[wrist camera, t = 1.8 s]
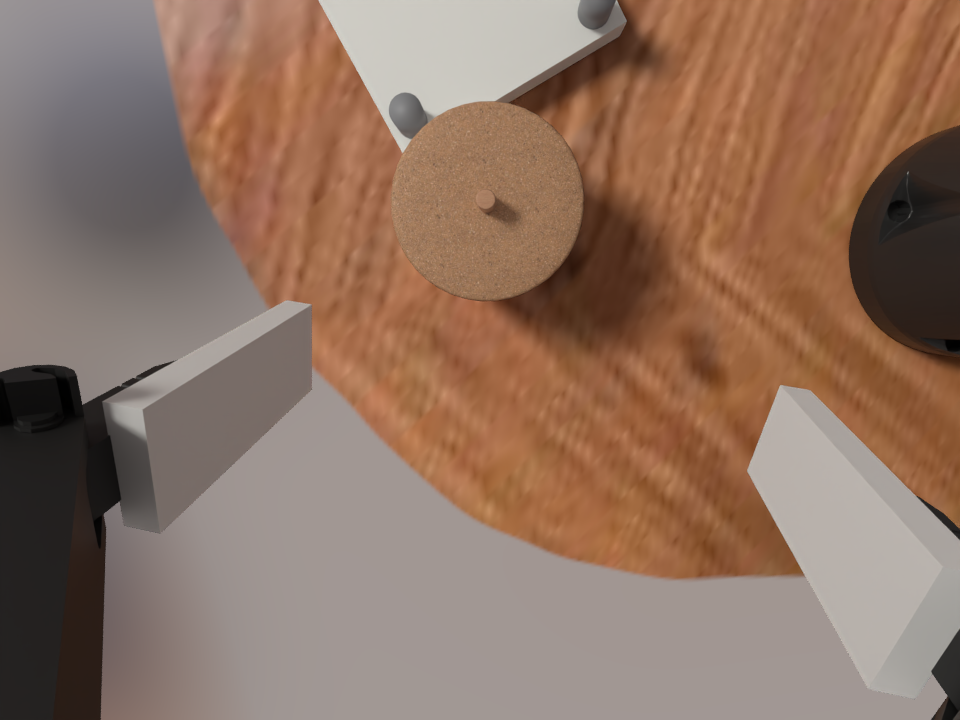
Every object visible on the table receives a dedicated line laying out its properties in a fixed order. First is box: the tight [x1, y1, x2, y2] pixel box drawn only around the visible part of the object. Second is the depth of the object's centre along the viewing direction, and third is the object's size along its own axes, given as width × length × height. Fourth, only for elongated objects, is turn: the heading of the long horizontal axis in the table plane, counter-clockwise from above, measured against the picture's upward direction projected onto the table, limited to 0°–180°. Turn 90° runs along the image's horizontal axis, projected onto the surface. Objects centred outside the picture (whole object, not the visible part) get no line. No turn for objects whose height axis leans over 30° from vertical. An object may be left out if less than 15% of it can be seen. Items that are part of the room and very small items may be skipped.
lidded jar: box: [391, 101, 584, 301], centre depth 32 cm, size 11×11×9 cm
